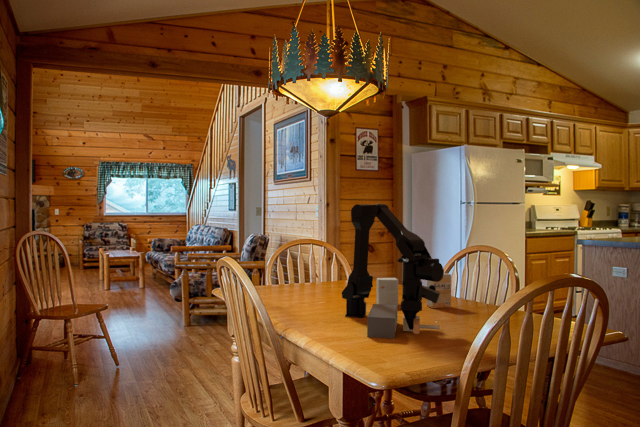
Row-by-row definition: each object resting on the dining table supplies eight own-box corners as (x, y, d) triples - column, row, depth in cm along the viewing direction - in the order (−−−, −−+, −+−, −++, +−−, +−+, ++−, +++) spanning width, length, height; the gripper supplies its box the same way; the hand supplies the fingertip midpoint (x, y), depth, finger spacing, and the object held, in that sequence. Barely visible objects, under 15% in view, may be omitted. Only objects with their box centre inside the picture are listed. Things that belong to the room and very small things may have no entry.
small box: (395, 303, 193) (396, 277, 193) (398, 306, 188) (398, 279, 188) (376, 303, 193) (376, 277, 193) (378, 306, 188) (378, 279, 187)
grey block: (367, 337, 142) (367, 316, 142) (373, 321, 162) (373, 303, 162) (395, 338, 140) (395, 318, 140) (397, 322, 160) (397, 304, 160)
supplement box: (432, 308, 183) (432, 274, 183) (426, 306, 188) (426, 273, 188) (451, 307, 185) (451, 274, 185) (445, 305, 190) (445, 272, 190)
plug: (403, 330, 148) (403, 318, 148) (403, 327, 152) (403, 315, 152) (439, 332, 146) (439, 319, 146) (439, 329, 150) (439, 316, 150)
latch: (413, 333, 136) (413, 324, 136) (413, 326, 144) (413, 318, 144) (419, 334, 136) (419, 324, 136) (419, 327, 144) (419, 318, 144)
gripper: (439, 283, 138) (439, 337, 139) (437, 274, 157) (436, 322, 157) (400, 281, 141) (400, 334, 141) (402, 273, 159) (402, 320, 159)
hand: (411, 327), depth 149 cm, fingers closed on plug, 4 cm apart
